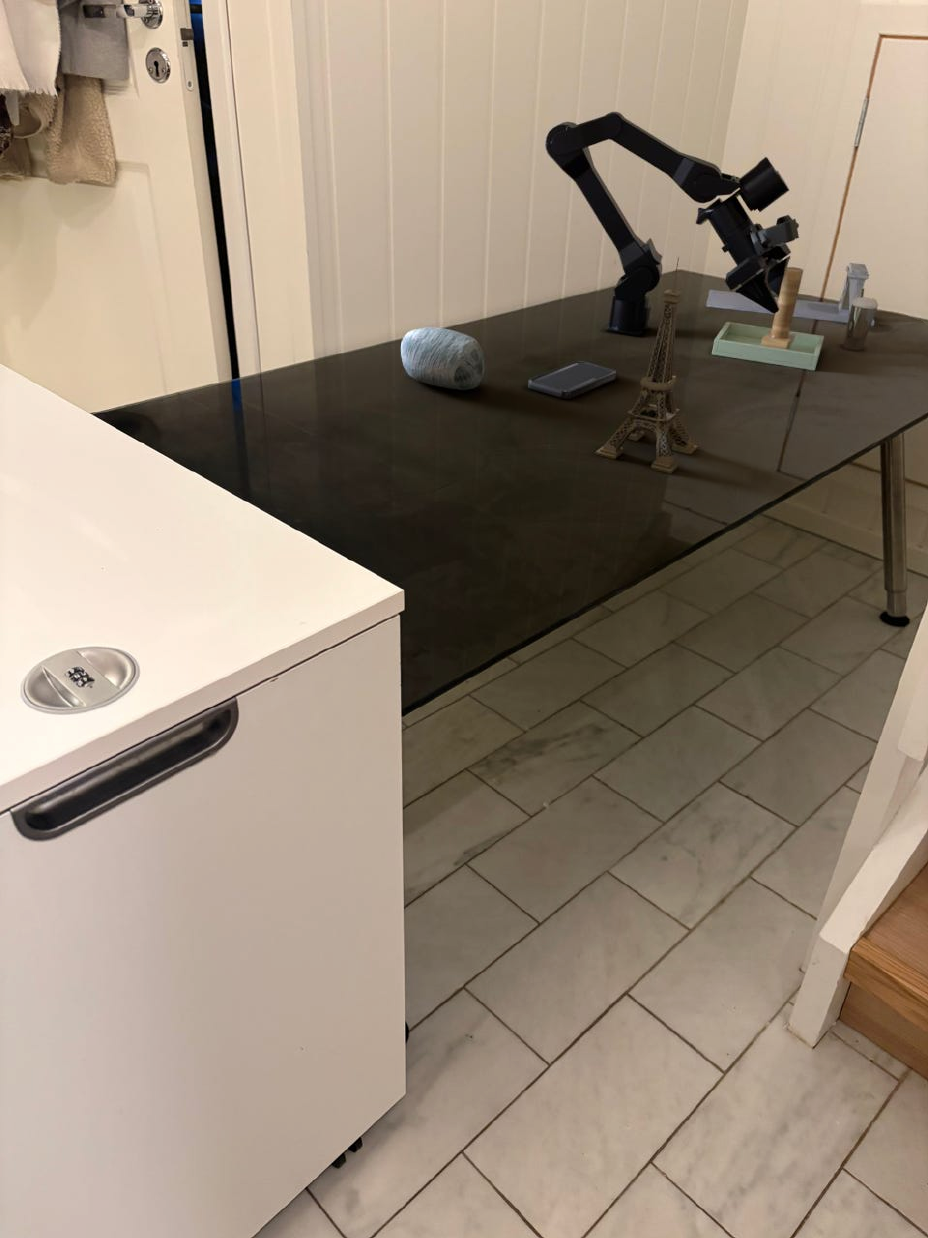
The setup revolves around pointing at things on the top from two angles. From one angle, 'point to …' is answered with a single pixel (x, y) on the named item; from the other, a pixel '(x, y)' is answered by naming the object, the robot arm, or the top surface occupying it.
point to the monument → (802, 307)
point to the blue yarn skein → (443, 358)
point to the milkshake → (859, 321)
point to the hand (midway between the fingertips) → (784, 306)
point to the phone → (572, 379)
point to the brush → (784, 311)
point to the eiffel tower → (665, 411)
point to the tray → (748, 346)
